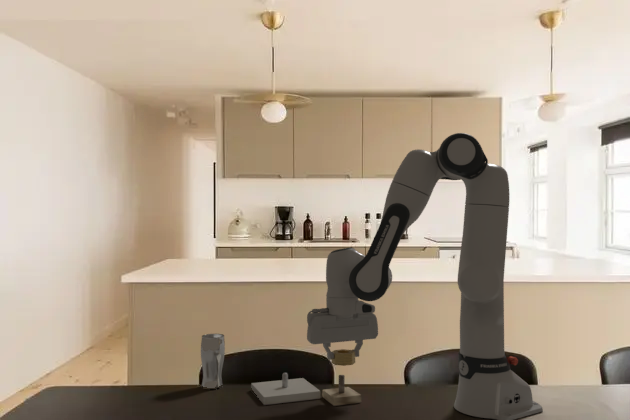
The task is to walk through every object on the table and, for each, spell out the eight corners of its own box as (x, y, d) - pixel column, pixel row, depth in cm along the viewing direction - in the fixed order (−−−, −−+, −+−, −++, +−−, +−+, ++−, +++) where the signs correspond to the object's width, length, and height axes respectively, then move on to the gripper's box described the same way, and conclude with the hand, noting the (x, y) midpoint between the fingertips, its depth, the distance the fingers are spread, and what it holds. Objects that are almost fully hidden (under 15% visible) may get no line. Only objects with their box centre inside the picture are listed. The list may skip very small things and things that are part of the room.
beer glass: (218, 391, 149) (219, 338, 149) (196, 389, 150) (197, 337, 151) (227, 384, 155) (228, 334, 156) (205, 383, 157) (206, 332, 158)
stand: (348, 394, 147) (348, 370, 147) (361, 402, 139) (361, 377, 140) (322, 397, 144) (322, 373, 144) (333, 405, 136) (333, 380, 137)
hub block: (303, 384, 156) (303, 364, 156) (320, 398, 143) (320, 376, 143) (251, 390, 150) (251, 369, 150) (264, 404, 137) (264, 381, 137)
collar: (348, 359, 146) (348, 348, 146) (358, 364, 140) (357, 352, 140) (329, 361, 144) (328, 350, 144) (337, 366, 138) (337, 355, 138)
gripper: (311, 310, 136) (312, 364, 135) (380, 306, 144) (381, 356, 143) (303, 307, 142) (303, 359, 141) (369, 303, 149) (370, 352, 149)
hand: (343, 357), depth 142 cm, fingers closed on collar, 6 cm apart
